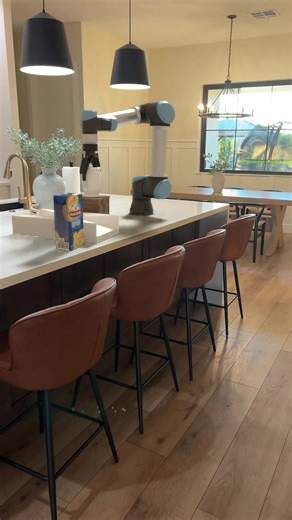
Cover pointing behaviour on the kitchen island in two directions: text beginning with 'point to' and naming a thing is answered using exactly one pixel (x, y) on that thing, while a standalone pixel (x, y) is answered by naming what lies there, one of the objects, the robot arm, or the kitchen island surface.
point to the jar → (93, 182)
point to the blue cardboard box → (68, 221)
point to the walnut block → (96, 205)
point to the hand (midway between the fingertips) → (91, 186)
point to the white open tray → (44, 225)
